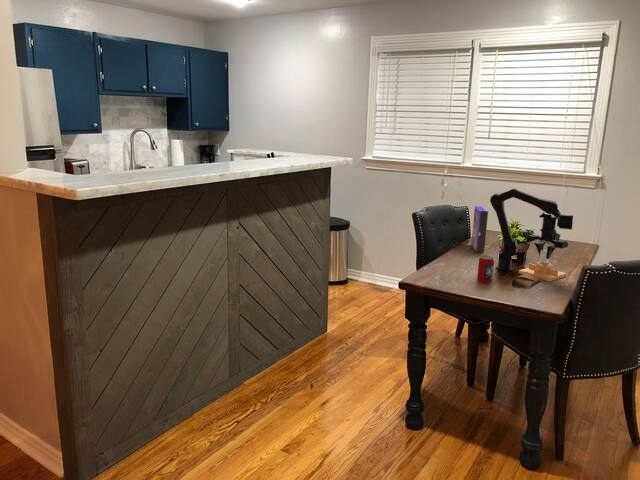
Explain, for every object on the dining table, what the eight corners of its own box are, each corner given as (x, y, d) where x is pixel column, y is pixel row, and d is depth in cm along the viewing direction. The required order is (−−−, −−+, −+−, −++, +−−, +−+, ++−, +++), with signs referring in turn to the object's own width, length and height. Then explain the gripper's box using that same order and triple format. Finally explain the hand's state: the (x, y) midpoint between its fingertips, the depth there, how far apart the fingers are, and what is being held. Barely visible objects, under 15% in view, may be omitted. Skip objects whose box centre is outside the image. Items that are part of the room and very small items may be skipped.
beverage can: (489, 285, 235) (492, 260, 232) (475, 282, 238) (477, 257, 236) (493, 281, 241) (496, 256, 238) (479, 279, 244) (481, 254, 241)
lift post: (544, 271, 252) (546, 251, 250) (538, 269, 254) (540, 250, 252) (547, 270, 254) (550, 250, 252) (541, 268, 256) (544, 249, 254)
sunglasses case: (530, 289, 231) (523, 275, 231) (515, 293, 235) (509, 280, 236) (542, 280, 244) (536, 267, 245) (528, 285, 249) (522, 272, 250)
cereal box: (471, 244, 315) (474, 205, 309) (479, 245, 314) (483, 206, 309) (475, 251, 298) (479, 210, 292) (484, 252, 297) (488, 211, 292)
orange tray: (549, 281, 244) (550, 269, 242) (518, 273, 256) (520, 261, 255) (566, 276, 253) (568, 264, 252) (536, 268, 266) (537, 257, 264)
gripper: (576, 229, 247) (571, 260, 250) (539, 222, 261) (535, 252, 265) (563, 231, 240) (559, 263, 244) (527, 224, 255) (523, 255, 258)
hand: (544, 258), depth 253 cm, fingers closed on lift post, 3 cm apart
